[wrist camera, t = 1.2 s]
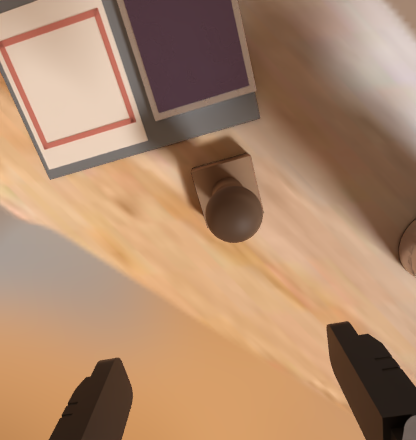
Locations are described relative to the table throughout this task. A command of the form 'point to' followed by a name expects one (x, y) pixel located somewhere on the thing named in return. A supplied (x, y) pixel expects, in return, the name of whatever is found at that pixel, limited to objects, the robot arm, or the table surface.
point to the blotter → (90, 86)
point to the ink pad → (188, 52)
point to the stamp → (229, 197)
